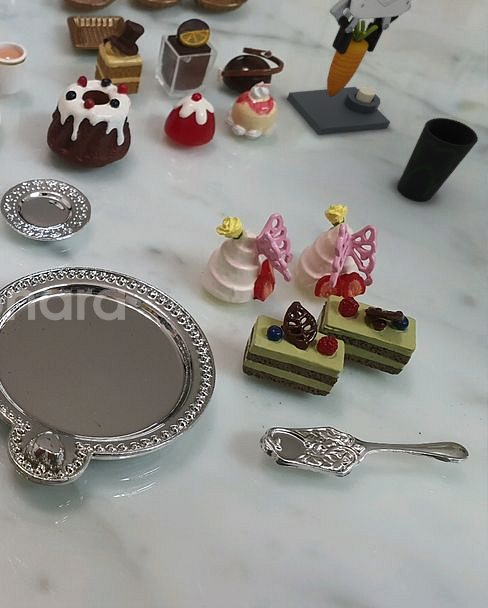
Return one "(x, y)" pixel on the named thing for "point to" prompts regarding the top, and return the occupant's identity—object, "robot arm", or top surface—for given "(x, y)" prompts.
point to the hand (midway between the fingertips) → (352, 48)
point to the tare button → (365, 94)
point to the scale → (338, 111)
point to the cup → (435, 157)
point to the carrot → (348, 60)
